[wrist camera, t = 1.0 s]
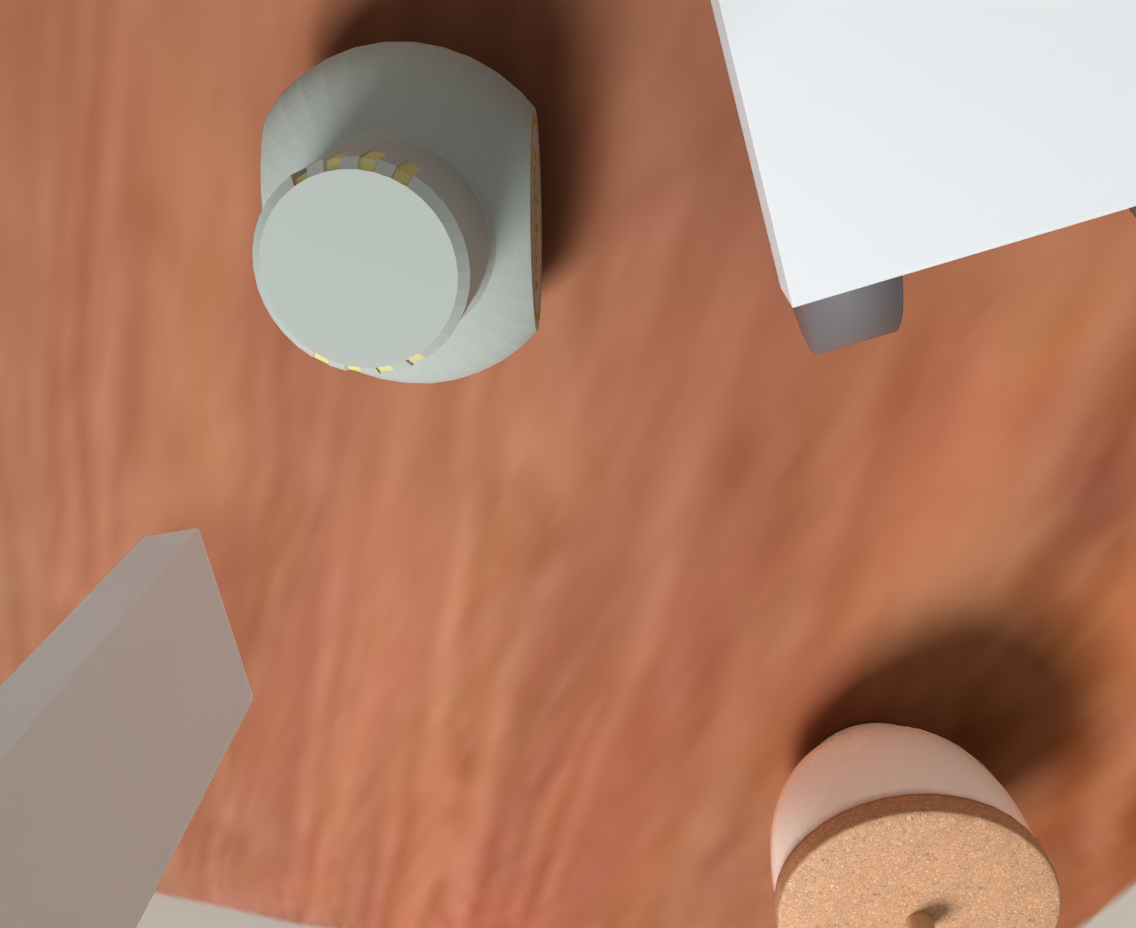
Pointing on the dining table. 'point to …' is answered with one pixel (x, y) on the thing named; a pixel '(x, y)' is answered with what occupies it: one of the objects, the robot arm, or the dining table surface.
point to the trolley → (924, 136)
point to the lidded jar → (904, 839)
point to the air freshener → (401, 213)
